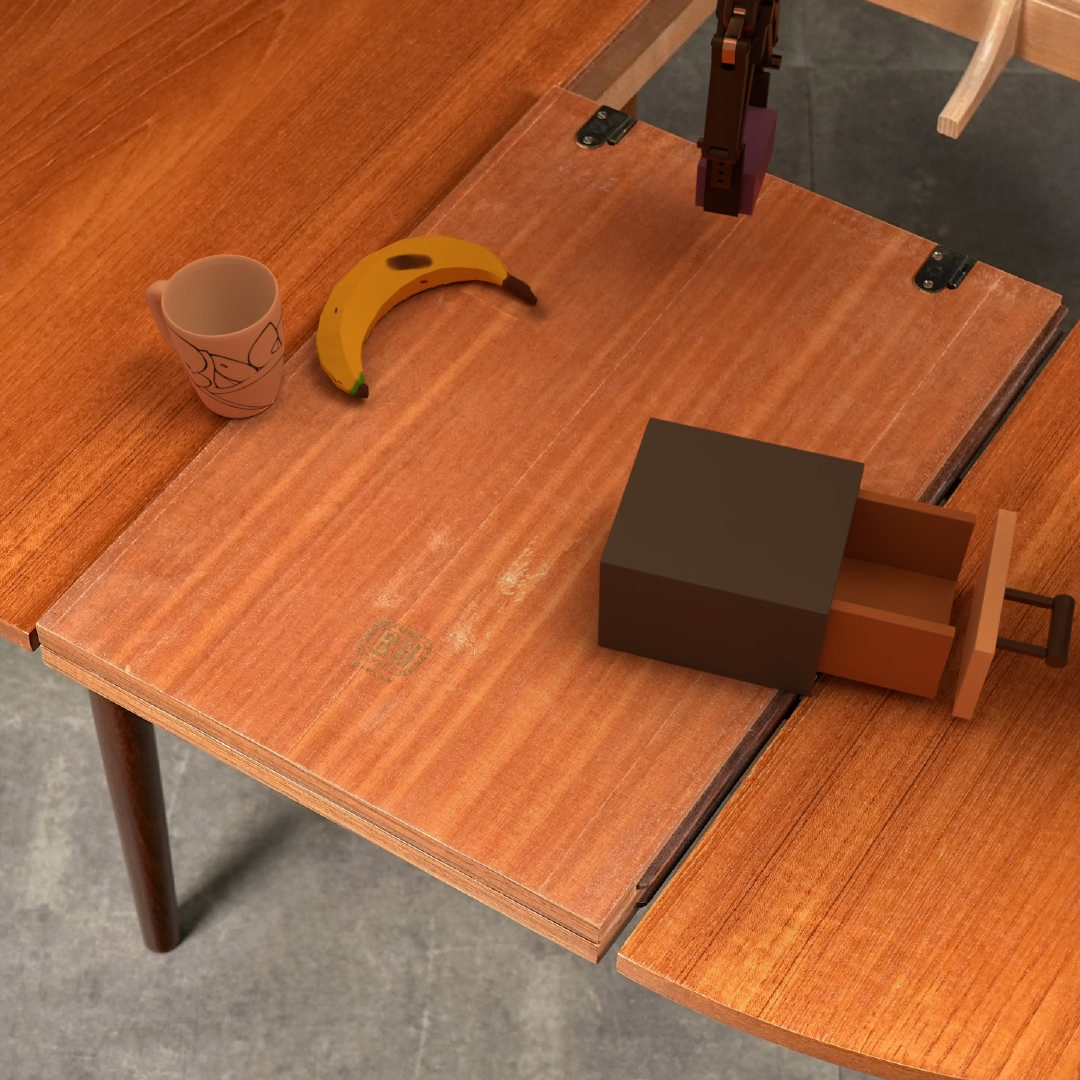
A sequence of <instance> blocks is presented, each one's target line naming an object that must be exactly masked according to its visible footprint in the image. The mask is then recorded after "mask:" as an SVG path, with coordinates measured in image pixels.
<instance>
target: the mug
mask: <svg viewBox="0 0 1080 1080" xmlns="http://www.w3.org/2000/svg"><path fill="white" fill-rule="evenodd" d="M281 296H282V295H281V291H280V285H279V283H278V280H277V279H276V276H275V275H274V274H273V272H272V271H271V270H270V269H269V268H268V267H267V266H266V265H265V264H263V263H261V262H260V261H258V260H257V259H254V258H251V257H248V256H245V255H239V254H227V253H226V254H215V255H209V256H204V257H202V258H199V259H196V260H194V261H191V262H190V263H188V264H186V265H184V266H183V267H181V268H180V269H178V270H177V271H176V272H175V273H174V274H173V275H172V276H171V277H170V278H169V279H168V280H167V279H158V280H156V281H154V282H153V283H151V285H149V287H148V288H146V290H145V293H144V297H145V301H146V305H147V307H148V309H149V313H151V316H152V317H153V320H154V322H155V324H156V326H157V328H158V330H159V333H160V335H161V337H162V340H163V341H164V342H165V344H166V345H167V346H168V347H169V348H170V349H171V350H173V352H175V353H176V354H177V356H178V359H179V361H180V364H181V365H182V368H183V370H184V371H185V373H186V375H187V377H188V379H189V381H190V382H191V384H192V386H193V388H194V390H195V391H196V393H197V395H198V397H199V399H200V400H201V401H202V403H203V404H204V405H205V407H207V409H209V410H210V411H211V412H212V413H214V414H217V415H218V416H221V417H224V418H229V419H245V418H249V417H253V416H255V415H259V414H260V413H262V412H264V411H266V410H267V409H269V408H270V407H271V406H272V405H273V404H274V403H275V402H276V400H277V399H278V397H279V395H280V394H281V391H282V388H283V380H284V361H285V329H284V318H283V317H284V316H283V307H282V297H281ZM281 387H282V388H281ZM280 390H281V391H280ZM278 394H279V395H278ZM277 396H278V397H277ZM276 397H277V398H276ZM275 398H276V400H275ZM274 400H275V401H274ZM272 401H274V402H273V403H272ZM271 403H272V404H271ZM270 404H271V405H270ZM269 405H270V406H269ZM267 406H268V407H267ZM265 407H267V408H265ZM264 408H265V409H264ZM262 409H264V410H262ZM260 410H262V411H260ZM259 411H260V412H259ZM257 412H258V413H257ZM254 413H255V414H254Z"/></svg>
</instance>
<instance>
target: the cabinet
mask: <svg viewBox="0 0 1080 1080" xmlns="http://www.w3.org/2000/svg"><path fill="white" fill-rule="evenodd" d="M865 466H866V463H865V462H860V461H855V460H851V459H847V458H842V457H838V456H832V455H828V454H823V453H818V452H814V451H809V450H806V449H805V450H804V449H801V448H796V447H791V446H787V445H781V444H777V443H773V442H767V441H762V440H758V439H753V438H750V437H744V436H740V435H735V434H731V433H726V432H721V431H716V430H711V429H706V428H703V427H697V426H693V425H689V424H684V423H679V422H674V421H670V420H665V419H660V418H655V417H651V416H649V418H648V421H647V425H646V427H645V430H644V433H643V435H642V438H641V441H640V444H639V447H638V450H637V453H636V456H635V459H634V462H633V464H632V467H631V470H630V473H629V476H628V479H627V481H626V485H625V488H624V491H623V493H622V497H621V499H620V502H619V505H618V508H617V511H616V513H615V517H614V520H613V522H612V524H611V525H612V526H611V528H610V531H609V534H608V537H607V540H606V542H605V544H604V545H605V546H604V548H603V550H602V551H603V552H602V554H601V558H600V559H599V560H600V561H599V575H598V576H599V580H598V615H597V616H598V617H597V618H598V622H597V646H599V647H601V648H606V649H607V648H608V649H611V650H614V651H619V652H623V653H628V654H632V655H636V656H640V657H644V658H648V659H652V660H656V661H660V662H665V663H669V664H673V665H677V666H682V667H685V668H689V669H693V670H698V671H702V672H706V673H711V674H714V675H719V676H722V677H725V678H731V679H735V680H739V681H743V682H746V683H752V684H756V685H760V686H763V687H767V688H772V689H777V690H779V691H783V692H788V693H791V694H797V695H802V696H805V697H808V698H809V697H812V695H813V691H814V686H815V683H816V682H815V681H816V678H817V674H818V671H817V669H818V664H819V659H820V655H821V650H822V645H823V641H824V636H825V631H826V627H827V622H828V618H829V613H830V609H831V605H832V600H833V596H834V592H835V588H836V584H837V579H838V575H839V571H840V567H841V563H842V559H843V554H844V550H845V546H846V542H847V538H848V534H849V529H850V525H851V521H852V517H853V513H854V508H855V504H856V500H857V496H858V492H859V489H861V484H862V481H863V476H864V470H865Z"/></svg>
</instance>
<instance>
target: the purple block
mask: <svg viewBox="0 0 1080 1080" xmlns="http://www.w3.org/2000/svg"><path fill="white" fill-rule="evenodd" d="M778 113H779V110H777V109H773V108H768V107H767V108H761V107H755V106H749V105H748V111H747V118H746V124H745V130H744V137H743V143H746V148H745V159H744V170H743V180H742V190H741V201H740V211H739V214H740V215H745V216H753V213H754V210H755V207H756V204H757V202H758V198H759V196H760V192H761V189H762V186H763V183H764V181H765V177H766V174H767V171H768V168H769V165H770V163H771V159H772V155H773V153H774V149H775V141H776V140H775V139H776V129H777V121H778ZM706 163H707V159H705V158H702V156H701V155H700V157H699V160H698V163H697V166H696V181H695V195H694V206H696V207H701V208H703V205H704V191H705V177H706ZM739 214H738V215H739Z"/></svg>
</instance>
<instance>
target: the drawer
mask: <svg viewBox="0 0 1080 1080" xmlns="http://www.w3.org/2000/svg"><path fill="white" fill-rule="evenodd" d="M977 517H978V516H977V514H976V513H972V512H968V511H963V510H958V509H954V508H949V507H945V506H940V505H935V504H931V503H926V502H922V501H916V500H913V499H908V498H903V497H899V496H894V495H891V494H885V493H881V492H876V491H871V490H866V489H862V488H860V489H859V492H858V496H857V500H856V504H855V508H854V513H853V517H852V521H851V525H850V529H849V534H848V538H847V542H846V546H845V550H844V554H843V559H842V563H841V567H840V571H839V575H838V579H837V584H836V588H835V592H834V596H833V600H832V605H831V609H830V613H829V618H828V622H827V627H826V631H825V636H824V641H823V645H822V650H821V655H820V659H819V664H818V669H817V673H818V672H819V673H824V674H827V675H830V676H835V677H839V678H843V679H848V680H852V681H857V682H861V683H864V684H869V685H873V686H877V687H881V688H885V689H890V690H894V691H898V692H902V693H906V694H911V695H915V696H918V697H924V698H928V699H931V700H935V697H936V695H937V691H938V689H939V685H940V682H941V679H942V677H943V673H944V670H945V667H946V665H947V661H948V658H949V655H950V652H951V648H952V645H953V642H954V639H955V634H956V630H957V627H956V626H953V625H950V621H951V617H952V611H953V606H954V599H955V594H956V588H957V583H958V579H959V576H960V573H961V570H962V567H963V564H964V560H965V558H966V554H967V551H968V548H969V545H970V541H971V538H972V535H973V532H974V528H975V526H976V522H977ZM1017 520H1018V512H1017V511H1013V510H1008V509H1004V508H999V509H998V511H997V515H996V517H995V521H994V524H993V527H992V530H991V532H990V536H989V539H988V542H987V545H986V548H985V551H984V554H983V556H982V559H981V563H980V566H979V569H978V572H977V575H976V579H975V583H974V590H973V594H972V599H971V600H972V601H971V606H970V612H969V616H968V623H967V630H966V633H965V634H966V635H965V640H964V645H963V651H962V657H961V661H960V662H961V663H960V667H959V673H958V677H957V685H956V690H955V695H954V701H953V707H952V713H951V716H952V717H957V718H960V719H966V720H971V719H972V716H973V714H974V712H975V709H976V706H977V703H978V700H979V697H980V694H981V692H982V689H983V686H984V684H985V681H986V678H987V675H988V674H989V673H988V672H989V670H990V668H991V664H992V662H993V658H994V656H995V653H996V649H997V650H1001V651H1005V652H1009V653H1010V652H1011V653H1014V654H1018V655H1023V656H1028V657H1031V658H1036V659H1040V660H1043V661H1044V664H1045V665H1046V666H1047V667H1049V668H1051V669H1057V670H1059V669H1063V668H1066V666H1067V665H1068V661H1069V652H1070V645H1071V639H1072V631H1073V623H1074V615H1075V608H1076V599H1075V598H1074V597H1073V596H1072V595H1069V594H1064V593H1059V594H1057V595H1055V596H1053V597H1052V596H1047V595H1042V594H1038V593H1034V592H1029V591H1024V590H1019V589H1015V588H1012V587H1007V580H1008V574H1009V569H1010V564H1011V563H1010V562H1011V557H1012V550H1013V544H1014V539H1015V533H1016V527H1017V526H1016V525H1017ZM1004 600H1005V601H1009V602H1014V603H1018V604H1024V605H1027V606H1031V607H1036V608H1041V609H1045V610H1049V611H1050V618H1049V625H1048V631H1047V638H1046V646H1041V645H1036V644H1032V643H1028V642H1023V641H1019V640H1016V639H1011V638H1006V637H1003V636H999V635H998V634H999V629H1000V623H1001V617H1002V611H1003V606H1004V605H1003V604H1004Z"/></svg>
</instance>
